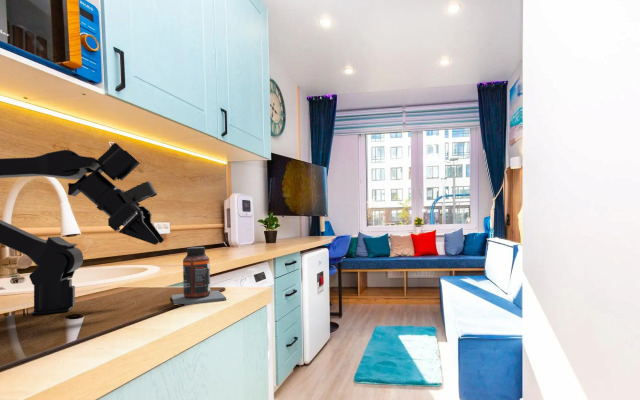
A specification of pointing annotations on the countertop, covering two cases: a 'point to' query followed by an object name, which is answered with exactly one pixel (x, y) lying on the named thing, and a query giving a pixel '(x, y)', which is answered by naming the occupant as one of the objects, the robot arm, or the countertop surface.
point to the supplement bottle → (196, 273)
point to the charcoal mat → (210, 298)
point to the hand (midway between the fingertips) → (160, 242)
